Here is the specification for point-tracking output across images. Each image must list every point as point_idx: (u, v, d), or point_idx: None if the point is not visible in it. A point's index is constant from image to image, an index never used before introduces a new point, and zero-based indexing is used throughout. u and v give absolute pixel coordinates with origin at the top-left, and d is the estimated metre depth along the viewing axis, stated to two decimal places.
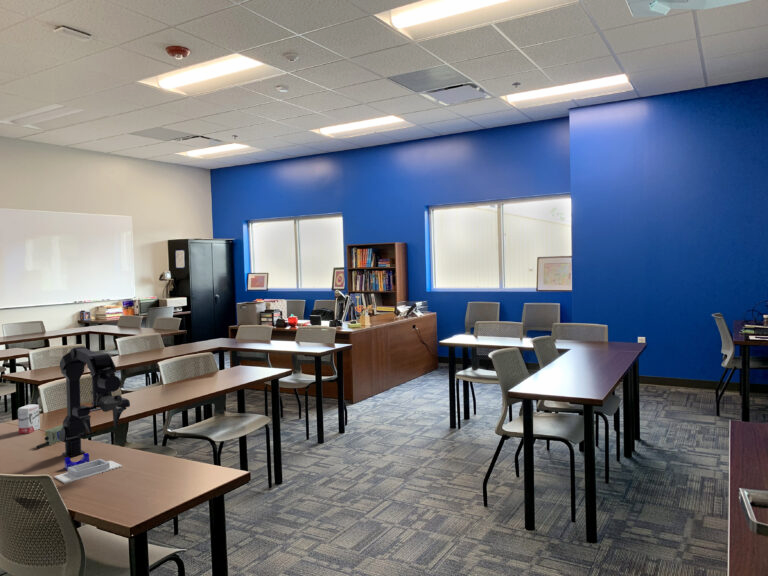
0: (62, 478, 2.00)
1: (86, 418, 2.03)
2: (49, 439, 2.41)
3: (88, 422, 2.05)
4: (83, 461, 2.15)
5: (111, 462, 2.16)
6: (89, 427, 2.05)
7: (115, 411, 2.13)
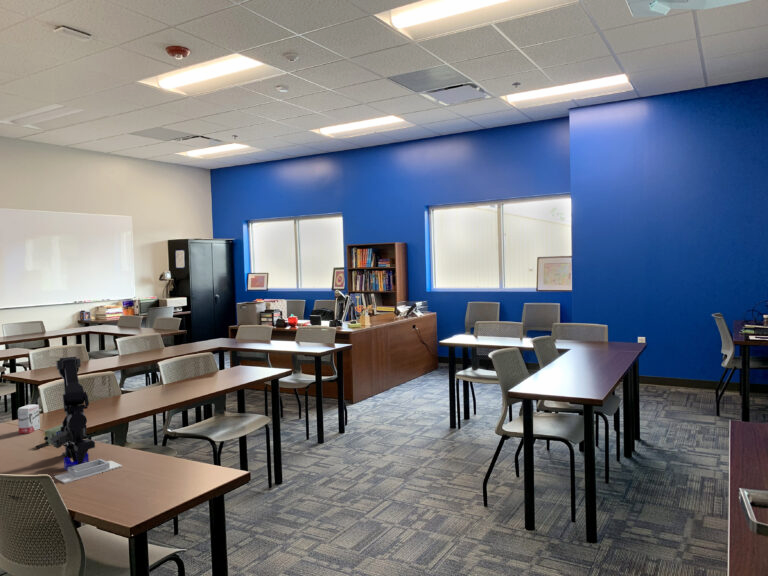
0: (62, 478, 2.00)
1: (66, 447, 2.14)
2: (49, 439, 2.41)
3: (70, 452, 2.15)
4: (83, 460, 2.15)
5: (111, 462, 2.16)
6: (72, 457, 2.15)
7: None
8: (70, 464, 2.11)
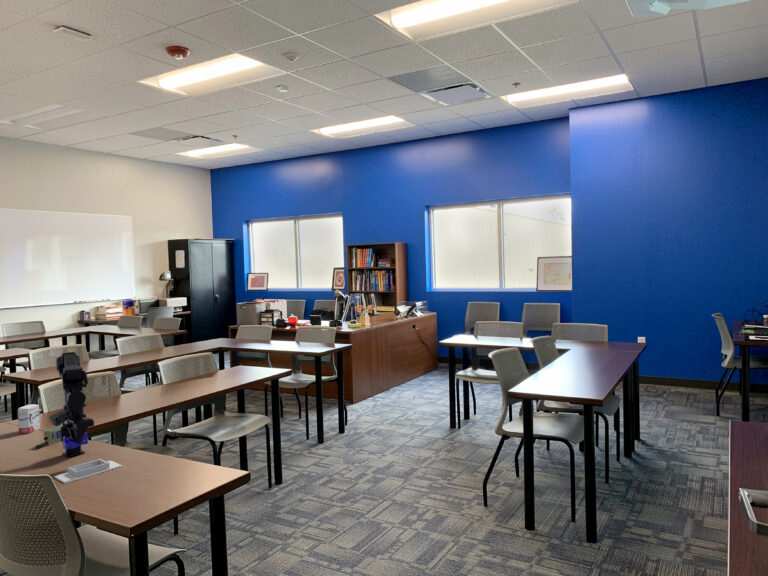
0: (62, 478, 2.00)
1: (65, 426, 2.14)
2: (48, 439, 2.41)
3: (69, 431, 2.14)
4: (82, 440, 2.15)
5: (111, 462, 2.16)
6: (71, 436, 2.14)
7: None
8: (69, 443, 2.10)
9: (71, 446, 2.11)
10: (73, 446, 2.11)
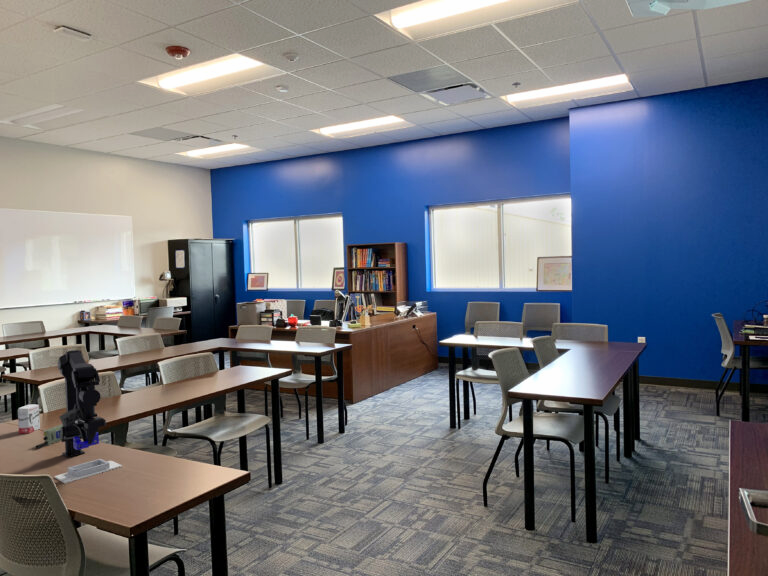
0: (62, 478, 2.00)
1: (75, 426, 2.07)
2: (48, 439, 2.41)
3: (80, 430, 2.08)
4: (93, 440, 2.08)
5: (111, 462, 2.16)
6: (81, 436, 2.08)
7: None
8: (80, 443, 2.04)
9: (82, 446, 2.04)
10: (84, 446, 2.05)
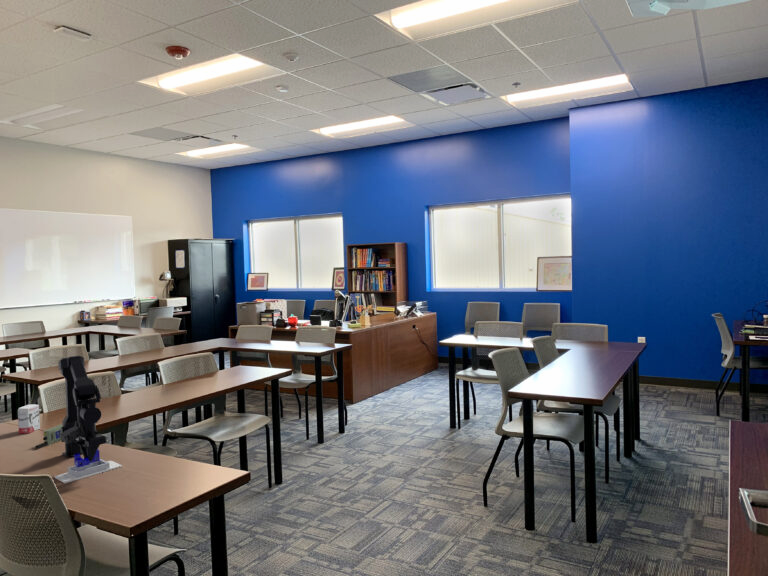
0: (62, 478, 2.00)
1: (76, 443, 2.08)
2: (48, 439, 2.41)
3: (80, 447, 2.08)
4: None
5: (111, 462, 2.16)
6: (82, 453, 2.08)
7: None
8: (81, 461, 2.04)
9: (83, 464, 2.04)
10: (85, 464, 2.05)
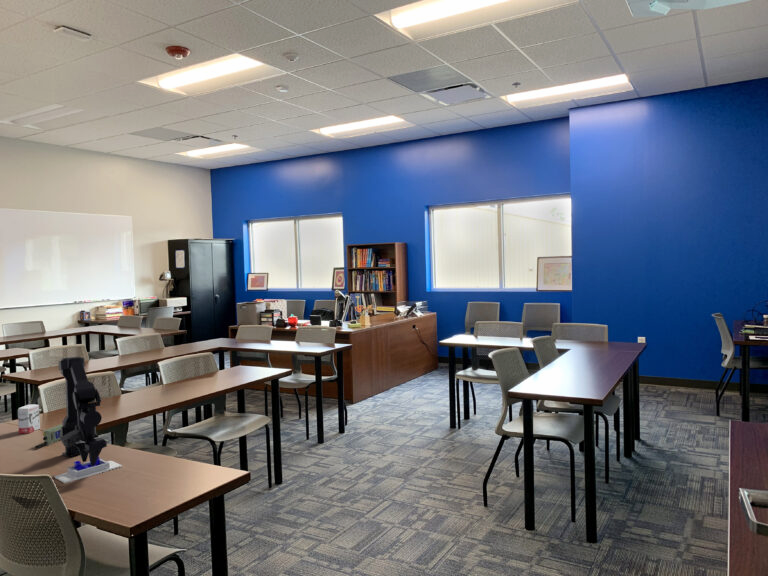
0: (62, 478, 2.00)
1: (75, 445, 2.09)
2: (47, 439, 2.41)
3: (79, 450, 2.09)
4: None
5: (111, 462, 2.16)
6: (81, 455, 2.09)
7: None
8: (81, 468, 2.04)
9: None
10: None
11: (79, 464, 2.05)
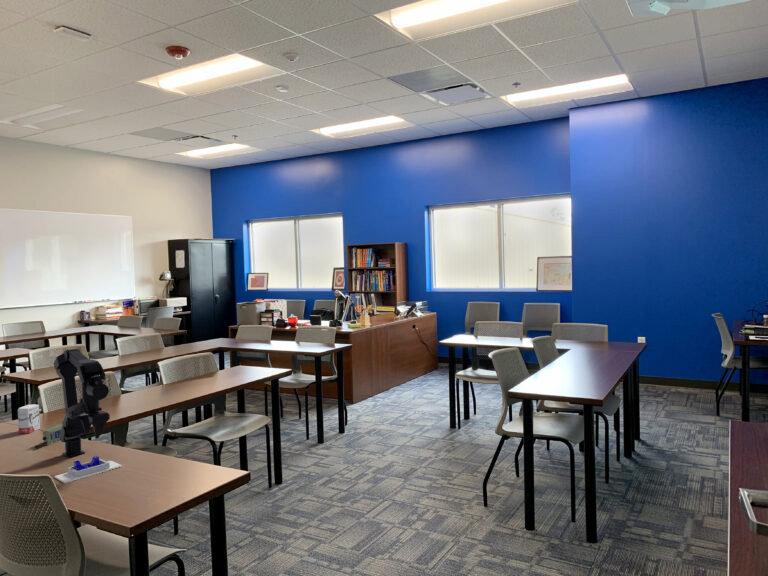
0: (62, 478, 2.00)
1: (78, 418, 2.16)
2: (47, 439, 2.41)
3: (82, 422, 2.16)
4: (93, 464, 2.09)
5: (111, 462, 2.16)
6: (83, 427, 2.16)
7: None
8: (81, 468, 2.04)
9: None
10: None
11: (79, 464, 2.05)
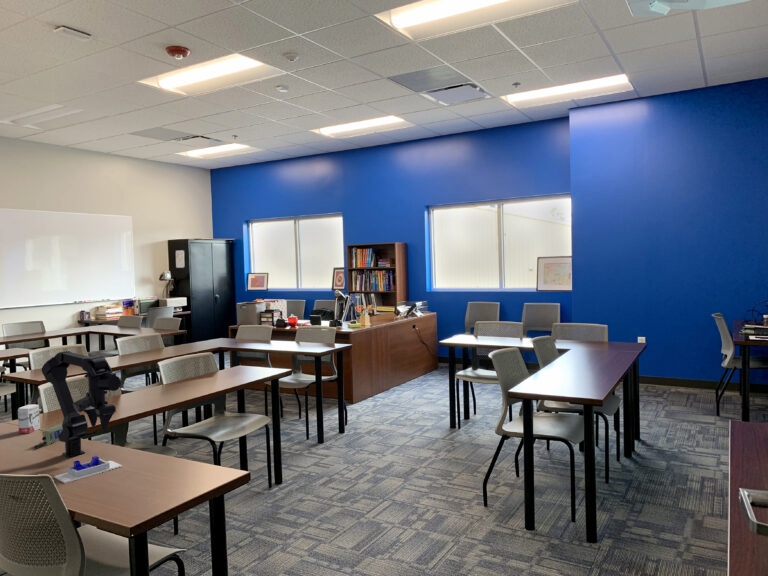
0: (62, 478, 2.00)
1: (84, 411, 2.24)
2: (47, 439, 2.41)
3: (88, 416, 2.24)
4: (93, 464, 2.09)
5: (111, 462, 2.16)
6: (90, 421, 2.24)
7: None
8: (81, 468, 2.04)
9: None
10: None
11: (78, 464, 2.05)
